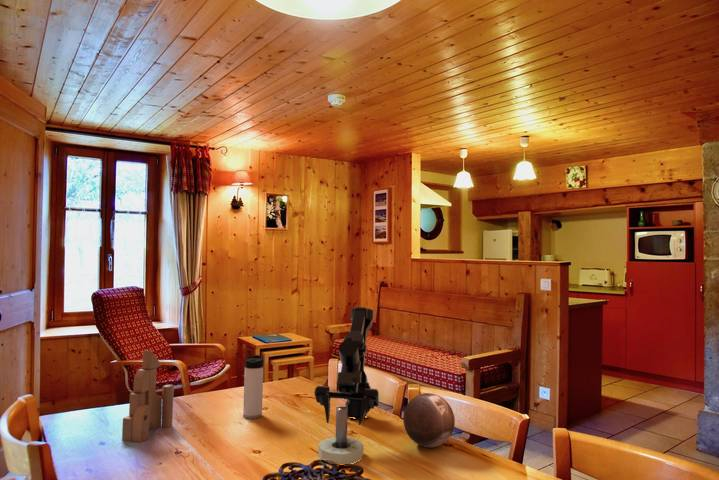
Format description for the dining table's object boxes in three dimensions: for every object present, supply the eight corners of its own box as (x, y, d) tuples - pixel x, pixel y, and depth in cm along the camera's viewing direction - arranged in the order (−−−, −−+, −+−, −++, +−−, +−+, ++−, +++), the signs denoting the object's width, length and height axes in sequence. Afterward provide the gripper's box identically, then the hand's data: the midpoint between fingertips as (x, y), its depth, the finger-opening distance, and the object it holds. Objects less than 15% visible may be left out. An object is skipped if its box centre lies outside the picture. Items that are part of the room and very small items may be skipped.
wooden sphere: (436, 460, 132) (437, 405, 132) (392, 445, 142) (393, 394, 142) (463, 445, 143) (464, 394, 144) (421, 432, 153) (422, 384, 154)
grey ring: (354, 445, 141) (354, 435, 141) (368, 462, 130) (369, 451, 130) (314, 450, 137) (314, 439, 137) (325, 467, 126) (326, 456, 126)
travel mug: (264, 413, 168) (266, 355, 168) (258, 419, 161) (260, 359, 162) (247, 412, 168) (248, 354, 169) (240, 418, 162) (242, 358, 162)
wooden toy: (141, 443, 139) (144, 355, 140) (121, 440, 141) (125, 353, 142) (174, 425, 154) (177, 346, 155) (156, 422, 156) (159, 344, 157)
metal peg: (341, 452, 136) (342, 405, 136) (349, 456, 133) (350, 408, 134) (332, 455, 133) (333, 408, 134) (340, 459, 131) (341, 411, 132)
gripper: (316, 358, 144) (307, 407, 133) (379, 361, 141) (374, 411, 130) (321, 378, 151) (312, 426, 140) (380, 381, 149) (376, 430, 138)
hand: (343, 423), depth 137 cm, fingers open, 9 cm apart
